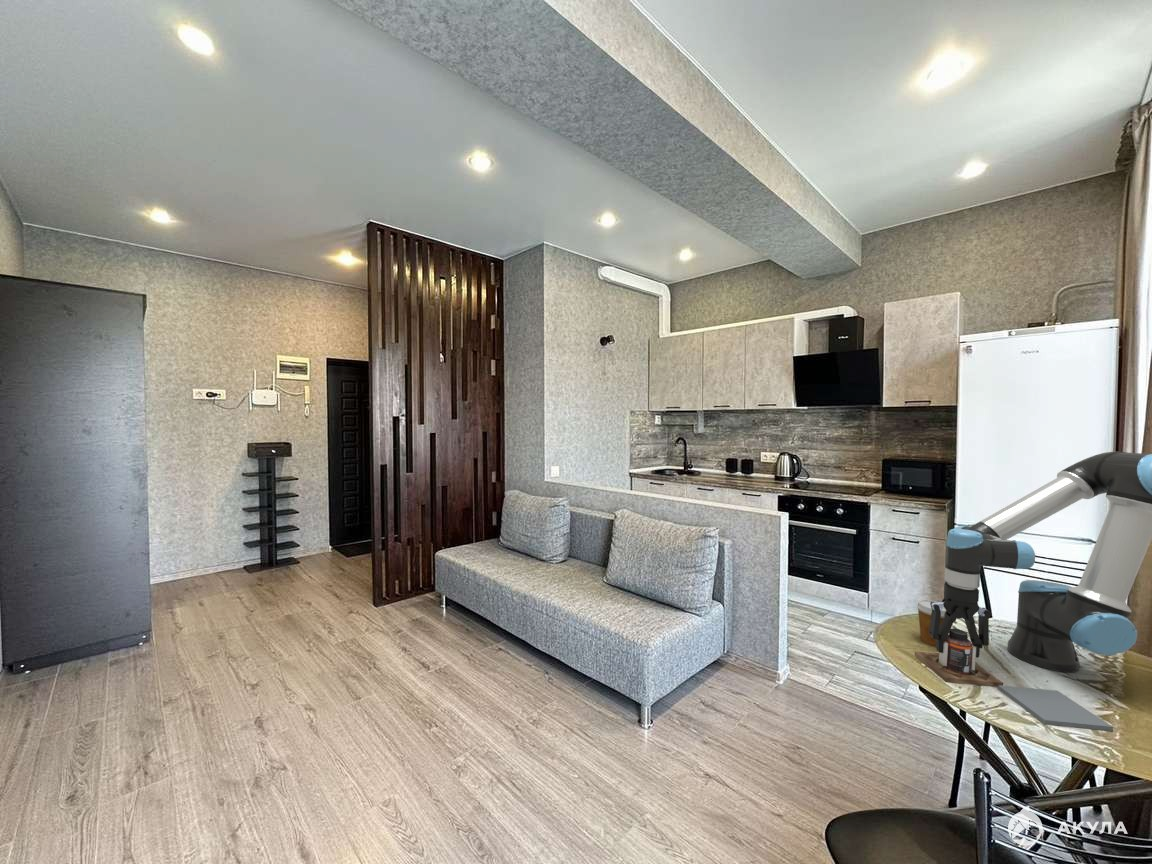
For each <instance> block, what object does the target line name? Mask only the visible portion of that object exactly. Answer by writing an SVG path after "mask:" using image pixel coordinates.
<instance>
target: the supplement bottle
mask: <svg viewBox="0 0 1152 864" xmlns="http://www.w3.org/2000/svg"><path fill="white" fill-rule="evenodd" d="M945 641H946V642H947V643H948V653H947V666H943V668H944V669H947V670H950V671H953V672H955V673H958V674H962V675H970V673H971V669H970V666H971V650H972V642H971V640H969V633H968V631H965V630H963V629H960V628H954V627H951V629H950V631H949V633H948V636H947V638H946V640H945Z"/></svg>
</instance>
